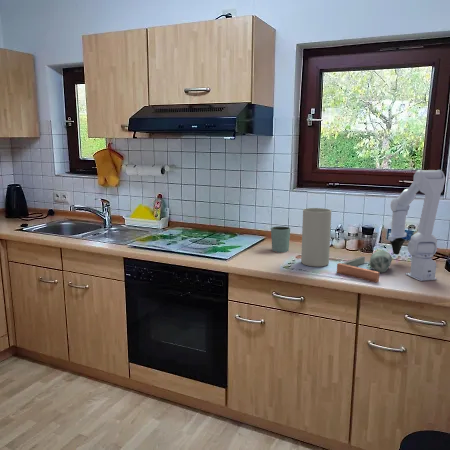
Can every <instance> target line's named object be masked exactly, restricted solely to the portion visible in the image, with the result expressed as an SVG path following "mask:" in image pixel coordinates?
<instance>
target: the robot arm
mask: <svg viewBox="0 0 450 450" xmlns="http://www.w3.org/2000/svg"><path fill="white" fill-rule="evenodd" d="M445 182H446V176H445V173H444V170H441V169H437V170H435V169H428V170H427V169H426V170H425V169H424V170H422V169H418V170H416V171H415V172H414V174H413V181H412V183H411V185H410V186H409V187H408V188H406V189H404V190H403V191H402V192H401V193H400V195H399V196H398V197H396V198H392V200H391V201H390V209H391V211H392V213H391V214H392V215H391V216H392V217H391V228H390V232H389V233H388V236H387V241H388V242H389V243H390V245H391V248H392V253H393V255H397V256H398V255H399V254H400V253H401V249H402V246H403V244H404V243H405V241H406V239H405V238H407V235H408V233H407V232H406V231H405V230H406V220H407V216H408V212H409V209H410V204H411V203H412V202H413V201H414V200H415V199H416V196H417V195H416V194H417V193H418V192H420V193H422V194H424V200H423V204H422V209H421V213H420V220H419V222H418V223H419V224H418V229H417V232H415V233H414V234H413V235H411V236H410V240H409V241H408V243H407V251H408V254H410V255H411V259H410V261H411V263H410V272H405V275H406V276H409V277H410V278H413V279H415V280H417V281H419V282H421V281H422V282H423V281H434V280H437V277H436V273H437V271H436V270H437V262H436V261H435V260H433V257H434V255H435V254H436V253H437V251H438V245H437V244H438V239H437V237H436V236H434V235H433V230H434V225H435V221H436V216H437V213H438V209H439V203H440V198H441V193H443V190H444V185H445Z"/></svg>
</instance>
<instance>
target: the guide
mask: <svg viewBox="0 0 450 450" xmlns="http://www.w3.org/2000/svg"><path fill="white" fill-rule="evenodd" d="M365 259H366V258H365V256H360V257H357V258H353V259H350V260H348V261H344V262H342V263H341V262H339V263H337V265H336V273H337V274H340V275H344V276H348V277H353V278H356V279H361V280H364V281H368V282H372V283H375V284H376V283H379V281H380V272H378V271H375V270H373V269H372V270H371V269H369V268H363V267H359V266H361V265H364V264H365V262H366V261H365Z"/></svg>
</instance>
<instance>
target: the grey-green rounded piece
mask: <svg viewBox="0 0 450 450" xmlns="http://www.w3.org/2000/svg"><path fill="white" fill-rule="evenodd" d="M392 261H393V258H392V255H391V254H390V253H389V252H388V251H386V250H384V249H383V250H382V249H380V250H377V251H374V252H373V253H372V255H371V256H370V259H369V266H370V267H371V269H372V270H373V271H377V272H379V273H385V272H386V271H388V269H389V267H390V266H391V264H392Z"/></svg>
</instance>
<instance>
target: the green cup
mask: <svg viewBox="0 0 450 450" xmlns="http://www.w3.org/2000/svg"><path fill="white" fill-rule="evenodd" d="M270 233H271V234H270V235H271V237H270V238H271V239H270V240H271V251H272V250H273V251H272V252H274V251H277V252H276V253H280V252H283V253H287V251H288V252H289V250H290V249H289V248H290V241H291V240H290V239H291V227H289V226H285V225H284V226H283V225H282V226H277V225H276V226H271V227H270Z"/></svg>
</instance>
